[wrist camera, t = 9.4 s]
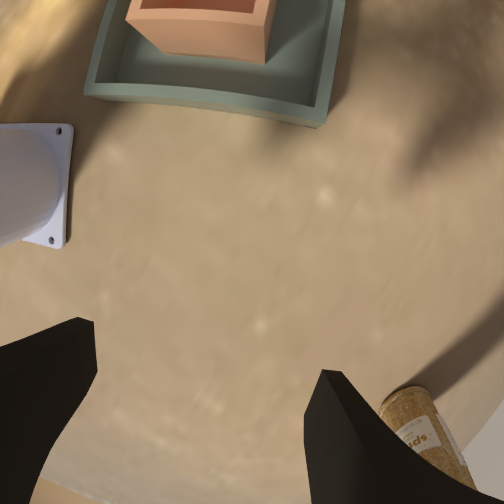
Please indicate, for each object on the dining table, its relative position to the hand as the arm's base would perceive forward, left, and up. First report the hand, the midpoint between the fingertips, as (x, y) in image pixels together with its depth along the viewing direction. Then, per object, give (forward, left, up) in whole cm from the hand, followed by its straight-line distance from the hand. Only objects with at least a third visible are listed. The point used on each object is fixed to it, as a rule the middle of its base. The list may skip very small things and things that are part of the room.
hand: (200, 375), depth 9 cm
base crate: (-3, +16, -10) cm, 19 cm away
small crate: (-3, +16, -9) cm, 19 cm away
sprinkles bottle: (+15, -9, -10) cm, 20 cm away
